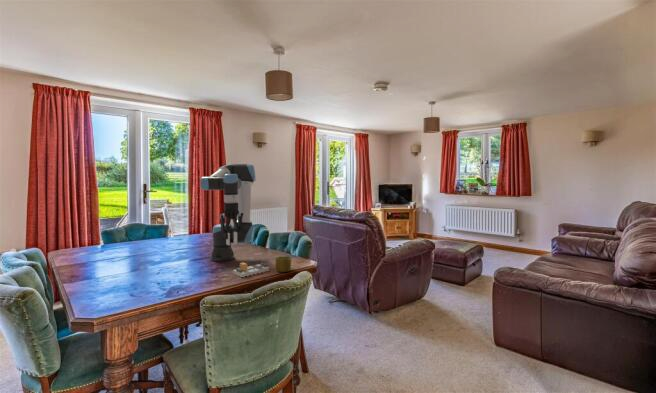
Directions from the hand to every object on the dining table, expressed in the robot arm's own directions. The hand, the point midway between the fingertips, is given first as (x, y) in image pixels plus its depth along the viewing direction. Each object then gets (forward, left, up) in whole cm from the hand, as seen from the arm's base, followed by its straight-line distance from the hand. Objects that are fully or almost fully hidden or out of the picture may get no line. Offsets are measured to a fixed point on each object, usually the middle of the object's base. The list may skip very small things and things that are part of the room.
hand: (231, 244), depth 178 cm
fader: (0, +7, -16) cm, 18 cm away
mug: (+9, +29, -19) cm, 36 cm away
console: (0, +12, -19) cm, 22 cm away
